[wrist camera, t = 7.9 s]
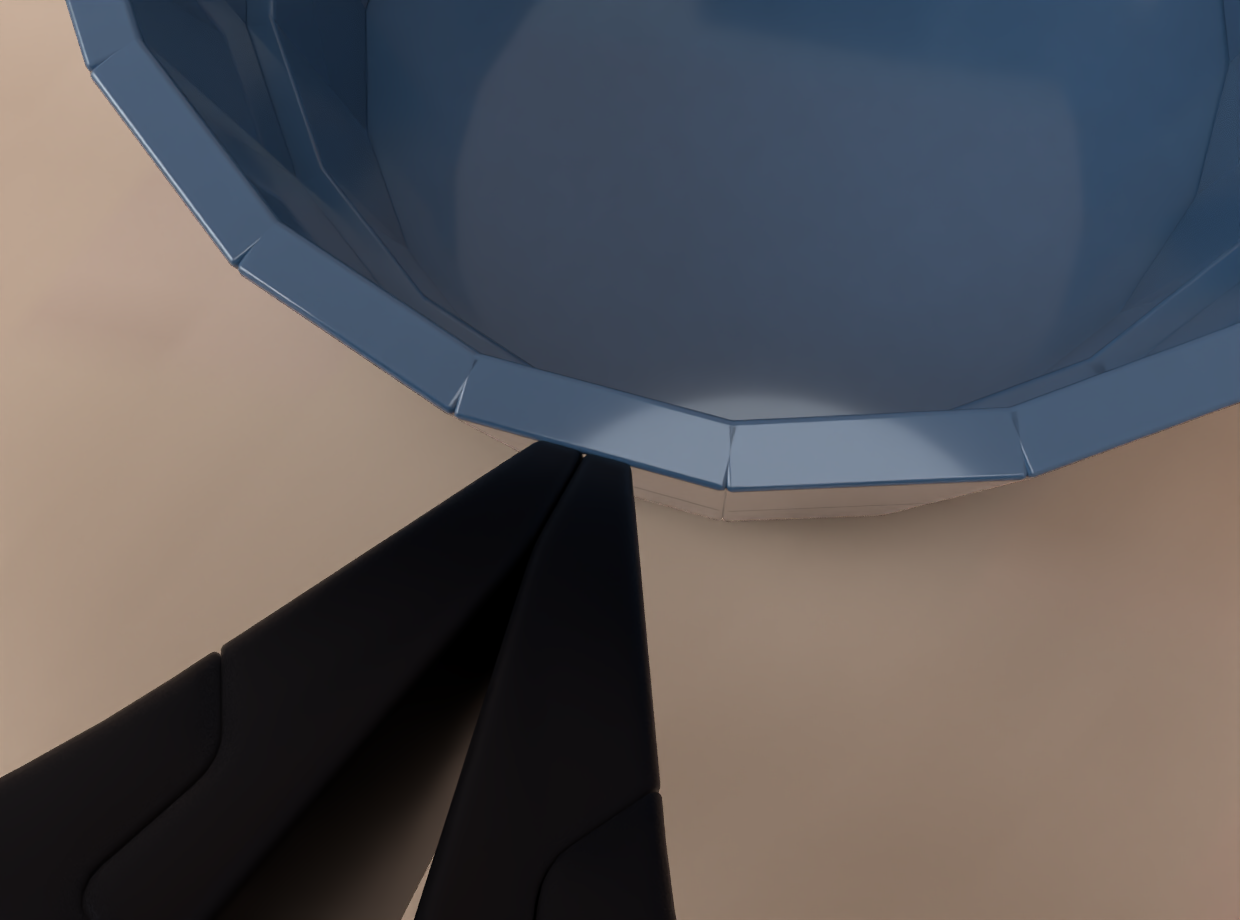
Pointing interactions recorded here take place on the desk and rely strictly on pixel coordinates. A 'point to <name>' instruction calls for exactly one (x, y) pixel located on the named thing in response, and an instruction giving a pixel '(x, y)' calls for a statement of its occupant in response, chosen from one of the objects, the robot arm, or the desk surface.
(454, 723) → the robot arm
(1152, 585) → the desk surface
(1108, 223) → the bowl
